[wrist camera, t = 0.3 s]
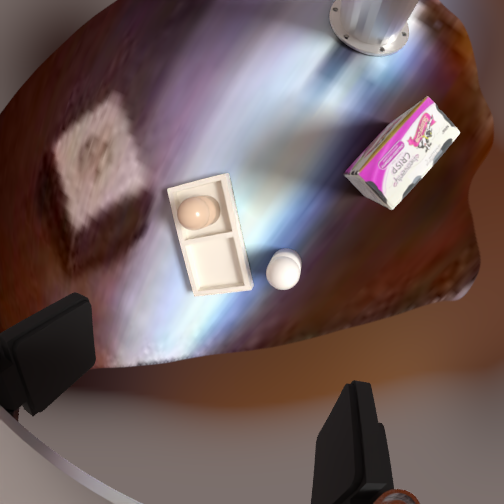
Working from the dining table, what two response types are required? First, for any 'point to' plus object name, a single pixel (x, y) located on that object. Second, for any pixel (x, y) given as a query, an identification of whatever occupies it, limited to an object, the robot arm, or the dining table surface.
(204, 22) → the dining table surface
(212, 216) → the brown egg
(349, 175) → the candy bar box
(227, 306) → the dining table surface
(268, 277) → the white egg
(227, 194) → the caddy
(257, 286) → the dining table surface
